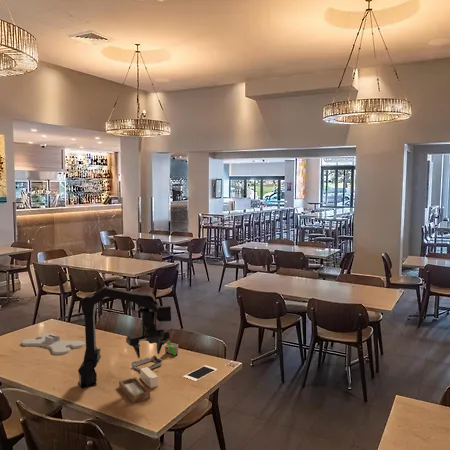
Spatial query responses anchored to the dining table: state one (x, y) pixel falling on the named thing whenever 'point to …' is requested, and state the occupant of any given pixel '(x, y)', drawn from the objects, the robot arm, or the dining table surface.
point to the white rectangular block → (149, 377)
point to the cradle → (134, 389)
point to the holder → (53, 343)
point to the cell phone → (200, 373)
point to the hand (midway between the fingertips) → (148, 355)
